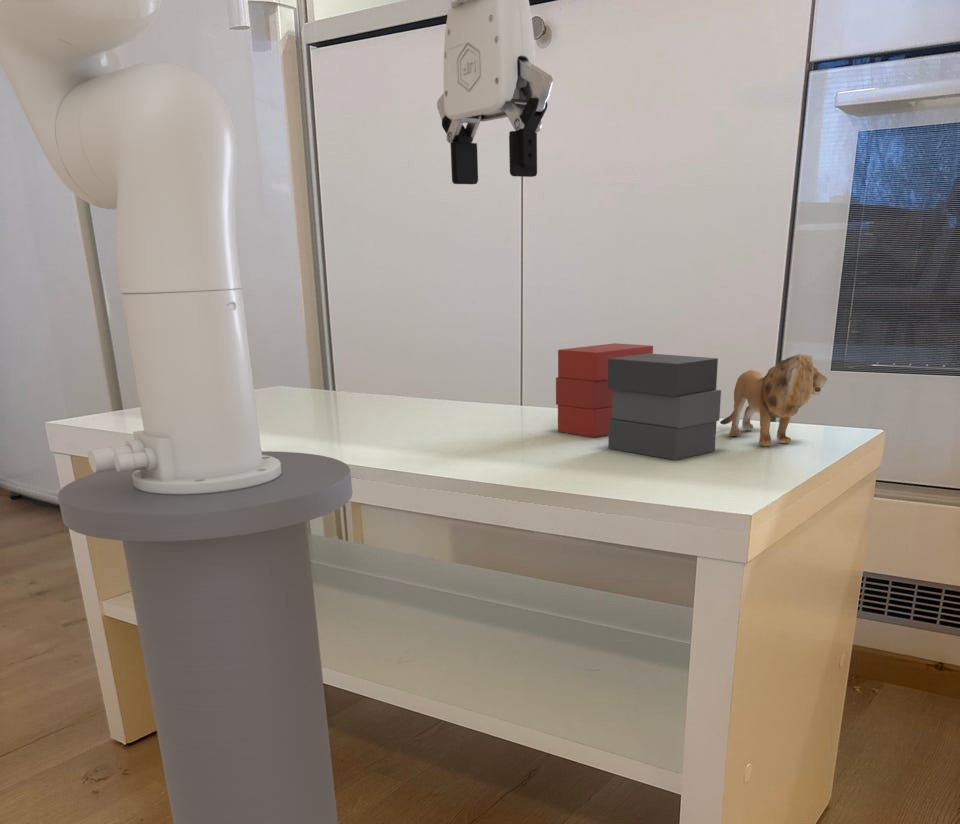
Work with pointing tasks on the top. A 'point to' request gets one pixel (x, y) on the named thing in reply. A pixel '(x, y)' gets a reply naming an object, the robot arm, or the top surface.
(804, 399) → the lion figurine
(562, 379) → the red blocks
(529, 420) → the top surface
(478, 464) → the top surface
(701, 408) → the grey blocks
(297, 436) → the top surface
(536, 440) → the top surface
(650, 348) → the red rectangular block
